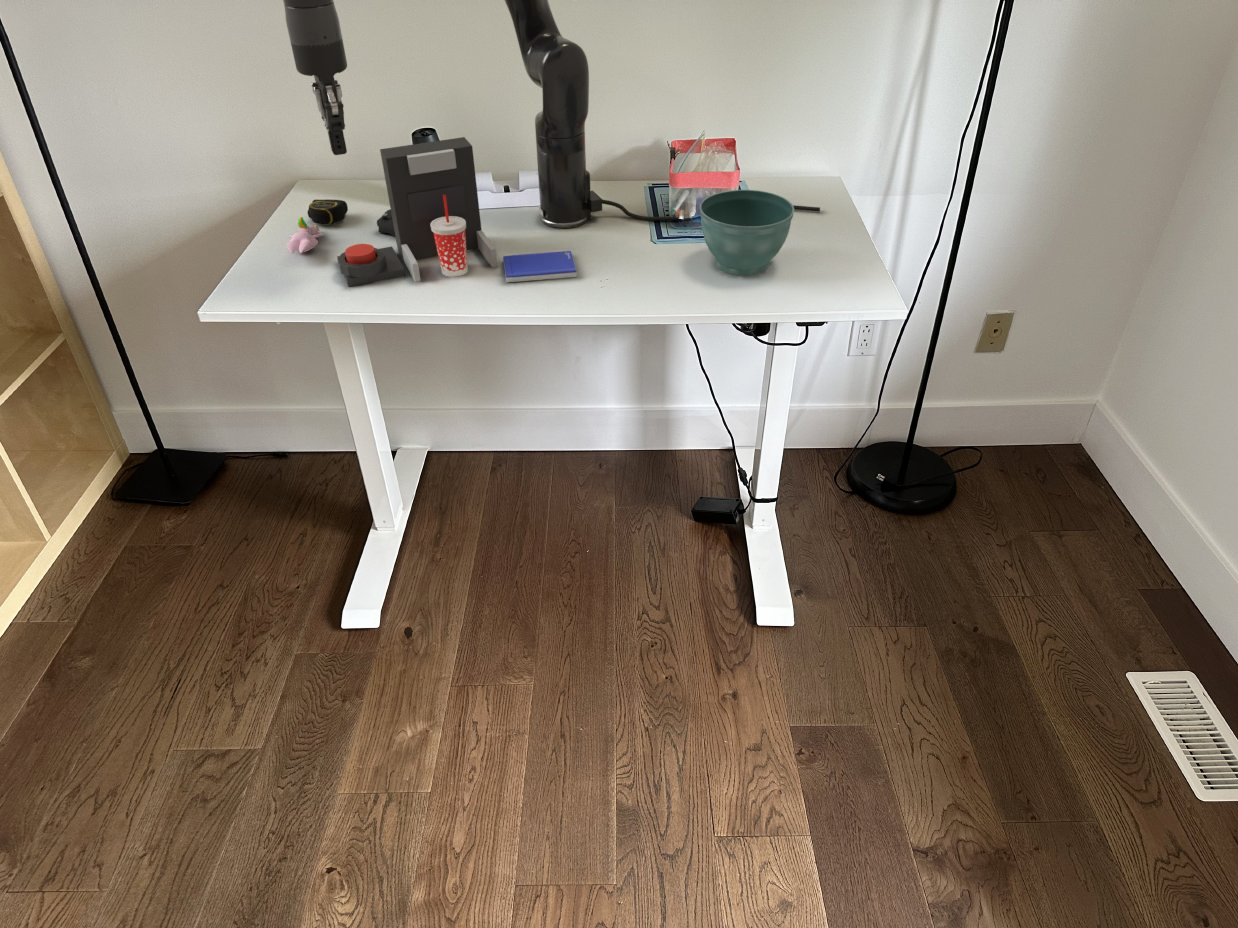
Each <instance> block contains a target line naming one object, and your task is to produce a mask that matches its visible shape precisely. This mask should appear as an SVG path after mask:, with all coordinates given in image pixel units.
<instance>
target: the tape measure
mask: <svg viewBox="0 0 1238 928" xmlns="http://www.w3.org/2000/svg"><path fill="white" fill-rule="evenodd" d="M348 211H349V207H348V203H347V202H346V201H345V200H342V199H313V200H312V202H311V203H310V204H308V209H307V216H308V218H309V219H310V220H311V221H312V222H313V223H314V224H315V225H316V224H317V225H323V226H327V225H329V226H332V225H334V224H338V223H340V222H342V221H343V220H344V219H345V218H346V214H347V213H348Z"/></svg>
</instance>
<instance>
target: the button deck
mask: <svg viewBox="0 0 1238 928" xmlns="http://www.w3.org/2000/svg"><path fill="white" fill-rule="evenodd" d="M374 249H375V254H376V259H375V260H373V261H371V262H369V263H365V264H350V263H348V262H347V259H346V254H345V251H344V252H342V253H341V254H340V255H337V256H336V260H337V264H338V268H339V271H340V274H341V275H343V278H344V280H345V282H346V285H347V287H348V288H351V287H352V288H353V287H357V286H363V285H367V284H372V283H378V282H384V281H387V280H388V281H389V280H393V279H399V278H403V277H405V278H406V271H405V267H404V266H403V263H402V262H401V259H399V257H398V254H397V253H396V251H395V249H394V247H393V246H386V247H381V248H376V247H374Z"/></svg>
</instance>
